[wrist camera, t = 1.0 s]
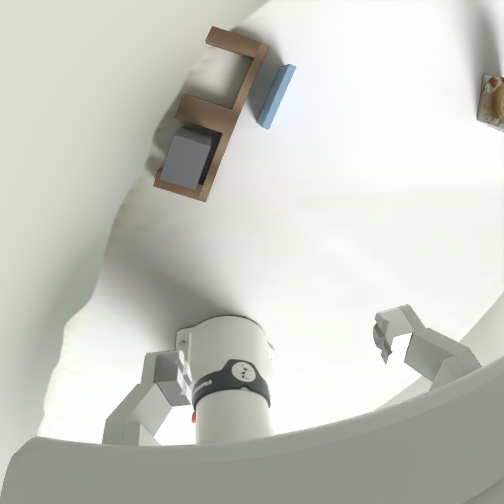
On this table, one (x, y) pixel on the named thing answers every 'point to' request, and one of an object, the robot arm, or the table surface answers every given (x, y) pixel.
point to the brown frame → (223, 116)
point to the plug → (186, 157)
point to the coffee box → (492, 102)
